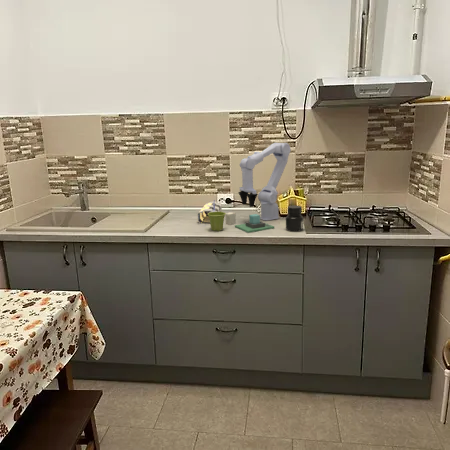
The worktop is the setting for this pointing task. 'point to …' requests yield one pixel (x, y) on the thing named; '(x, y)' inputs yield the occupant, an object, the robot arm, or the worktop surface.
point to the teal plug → (254, 219)
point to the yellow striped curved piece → (209, 210)
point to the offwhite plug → (230, 218)
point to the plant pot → (216, 220)
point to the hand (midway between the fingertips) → (248, 205)
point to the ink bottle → (294, 219)
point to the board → (254, 227)
